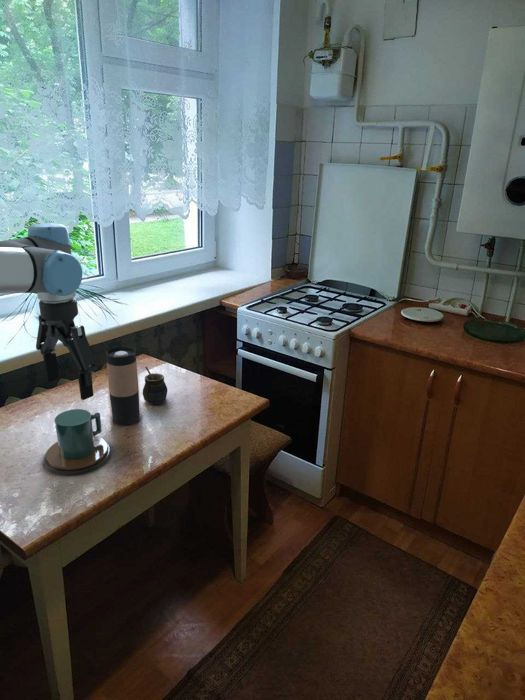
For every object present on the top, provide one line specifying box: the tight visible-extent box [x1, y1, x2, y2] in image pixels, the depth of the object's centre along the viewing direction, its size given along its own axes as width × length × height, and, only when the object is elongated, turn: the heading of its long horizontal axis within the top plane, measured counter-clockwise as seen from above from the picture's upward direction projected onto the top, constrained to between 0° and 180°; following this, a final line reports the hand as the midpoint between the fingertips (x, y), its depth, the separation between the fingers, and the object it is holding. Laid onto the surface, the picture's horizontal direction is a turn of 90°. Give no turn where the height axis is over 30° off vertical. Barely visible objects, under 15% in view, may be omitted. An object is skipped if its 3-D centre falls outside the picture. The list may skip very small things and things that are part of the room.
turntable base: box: [43, 441, 111, 476], centre depth 119 cm, size 15×15×1 cm
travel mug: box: [105, 346, 140, 426], centre depth 133 cm, size 8×8×20 cm
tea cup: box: [45, 408, 109, 470], centre depth 117 cm, size 14×14×10 cm
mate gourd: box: [142, 366, 168, 406], centre depth 145 cm, size 7×8×10 cm
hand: (69, 388), depth 113 cm, fingers open, 13 cm apart
